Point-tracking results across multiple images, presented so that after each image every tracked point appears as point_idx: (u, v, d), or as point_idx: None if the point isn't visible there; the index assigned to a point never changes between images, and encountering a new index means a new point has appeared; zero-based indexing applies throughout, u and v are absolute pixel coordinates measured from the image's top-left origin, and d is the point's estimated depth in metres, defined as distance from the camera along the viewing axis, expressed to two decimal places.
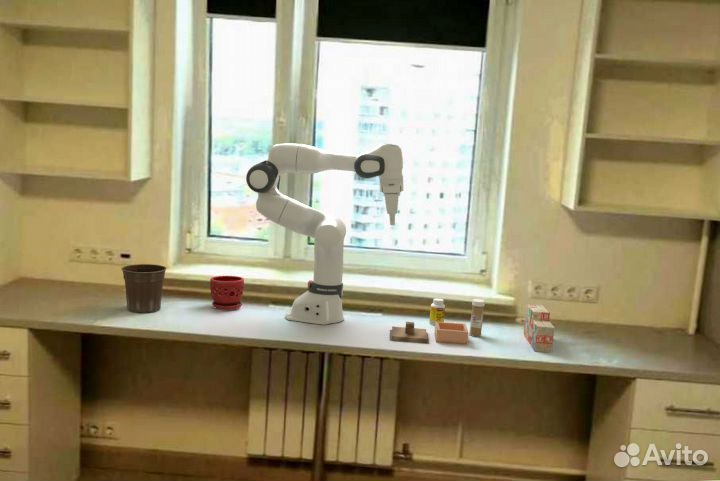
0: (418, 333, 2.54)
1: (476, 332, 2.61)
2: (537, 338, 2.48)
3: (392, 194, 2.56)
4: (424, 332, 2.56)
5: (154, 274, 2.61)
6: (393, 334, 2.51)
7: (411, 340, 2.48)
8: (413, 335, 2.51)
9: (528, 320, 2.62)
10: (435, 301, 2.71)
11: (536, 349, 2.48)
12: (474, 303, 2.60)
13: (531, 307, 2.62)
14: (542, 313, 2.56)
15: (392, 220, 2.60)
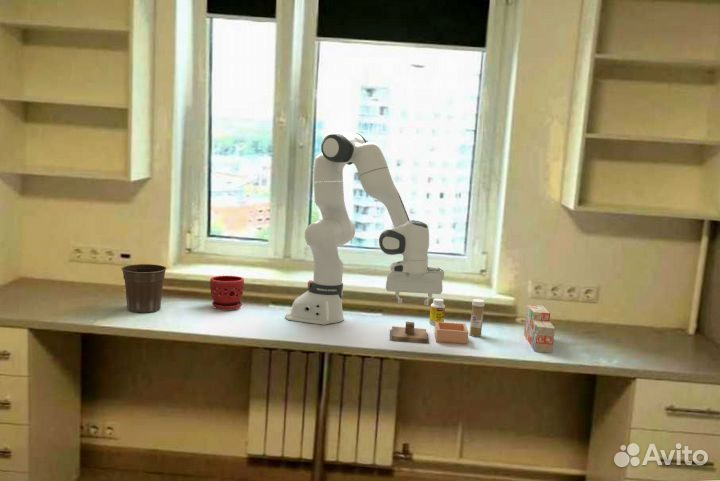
0: (418, 333, 2.54)
1: (476, 332, 2.61)
2: (537, 338, 2.47)
3: (391, 271, 2.51)
4: (424, 332, 2.56)
5: (154, 274, 2.61)
6: (393, 334, 2.51)
7: (411, 340, 2.48)
8: (413, 335, 2.51)
9: (528, 320, 2.61)
10: (435, 301, 2.71)
11: (536, 349, 2.48)
12: (474, 303, 2.60)
13: (531, 307, 2.61)
14: (542, 313, 2.55)
15: (397, 298, 2.53)
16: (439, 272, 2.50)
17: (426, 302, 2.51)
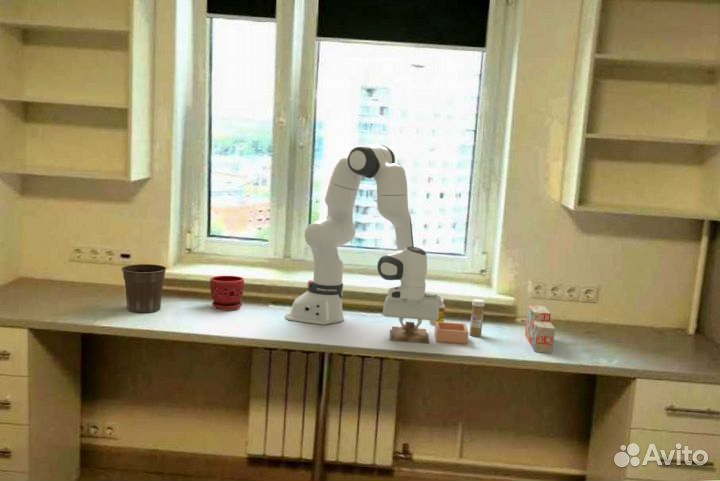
0: (418, 333, 2.54)
1: (476, 332, 2.61)
2: (537, 339, 2.47)
3: (388, 296, 2.53)
4: (424, 332, 2.56)
5: (154, 274, 2.61)
6: (393, 334, 2.51)
7: (411, 340, 2.48)
8: (413, 335, 2.51)
9: (529, 321, 2.61)
10: None
11: (536, 350, 2.47)
12: (474, 303, 2.60)
13: (532, 308, 2.61)
14: (543, 314, 2.55)
15: (401, 324, 2.54)
16: (436, 299, 2.52)
17: (416, 327, 2.53)
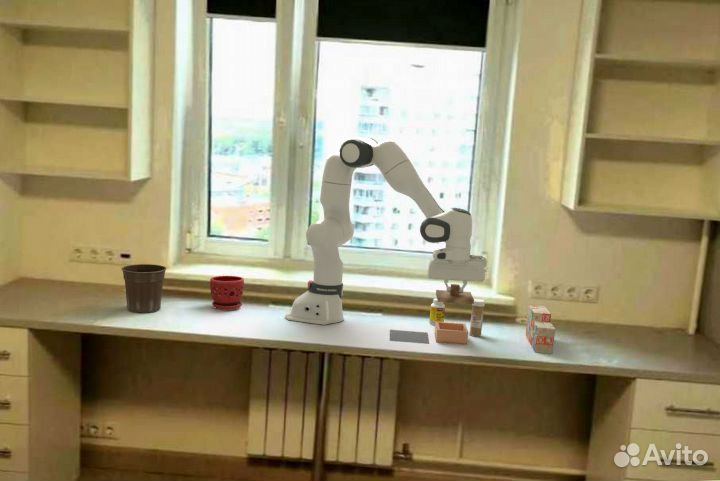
0: (463, 295, 2.52)
1: (476, 332, 2.61)
2: (537, 339, 2.46)
3: (433, 258, 2.51)
4: (469, 294, 2.54)
5: (154, 274, 2.61)
6: (439, 296, 2.48)
7: (457, 301, 2.46)
8: (459, 297, 2.49)
9: (530, 321, 2.60)
10: (435, 301, 2.71)
11: (536, 350, 2.47)
12: (474, 303, 2.60)
13: (533, 308, 2.60)
14: (543, 314, 2.54)
15: (446, 286, 2.52)
16: (481, 260, 2.50)
17: (461, 289, 2.51)
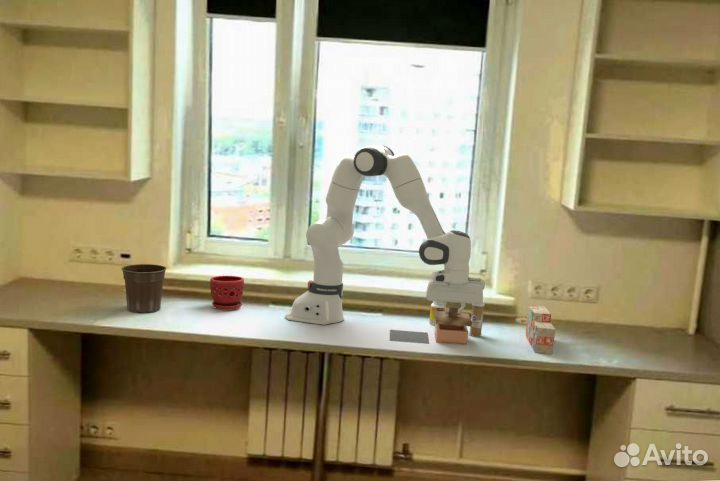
0: (461, 317, 2.53)
1: (476, 332, 2.61)
2: (537, 339, 2.46)
3: (431, 280, 2.52)
4: (467, 316, 2.55)
5: (154, 274, 2.61)
6: (437, 318, 2.50)
7: (455, 324, 2.48)
8: (457, 319, 2.50)
9: (530, 321, 2.60)
10: (435, 301, 2.71)
11: (536, 351, 2.47)
12: None
13: (533, 308, 2.60)
14: (543, 314, 2.54)
15: None
16: (480, 282, 2.51)
17: (459, 311, 2.52)
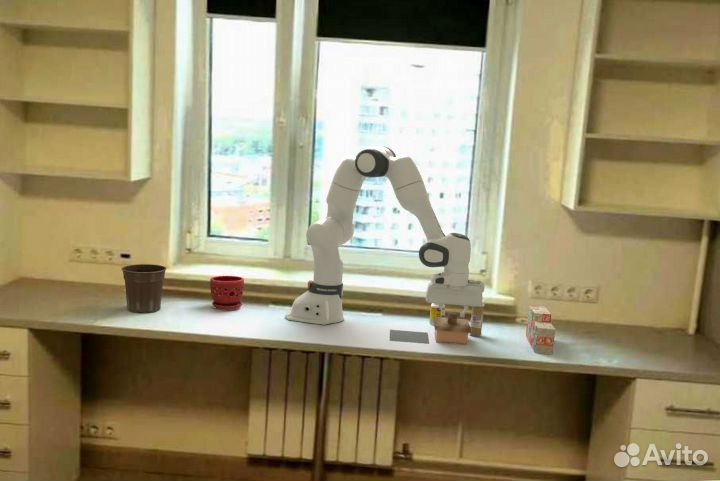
0: (461, 323, 2.54)
1: (476, 332, 2.61)
2: (537, 340, 2.46)
3: (431, 283, 2.52)
4: (466, 322, 2.55)
5: (154, 274, 2.61)
6: (436, 324, 2.50)
7: (454, 330, 2.48)
8: (456, 325, 2.51)
9: (530, 321, 2.60)
10: None
11: (536, 351, 2.46)
12: None
13: (533, 308, 2.60)
14: (543, 315, 2.53)
15: None
16: (479, 285, 2.51)
17: (462, 314, 2.53)
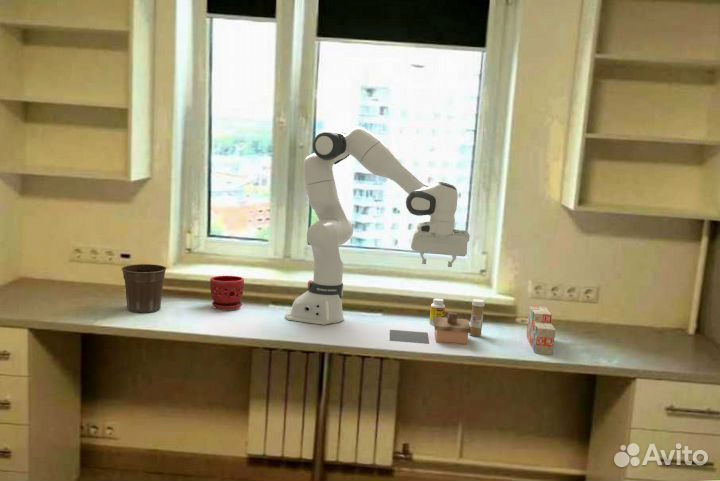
0: (461, 323, 2.54)
1: (476, 332, 2.61)
2: (537, 340, 2.45)
3: (417, 231, 2.55)
4: (466, 322, 2.55)
5: (154, 274, 2.61)
6: (436, 324, 2.50)
7: (454, 330, 2.48)
8: (456, 325, 2.51)
9: (530, 322, 2.59)
10: (435, 301, 2.71)
11: (536, 351, 2.46)
12: (474, 303, 2.60)
13: (533, 309, 2.59)
14: (544, 315, 2.53)
15: (422, 258, 2.57)
16: (465, 235, 2.54)
17: (450, 263, 2.56)
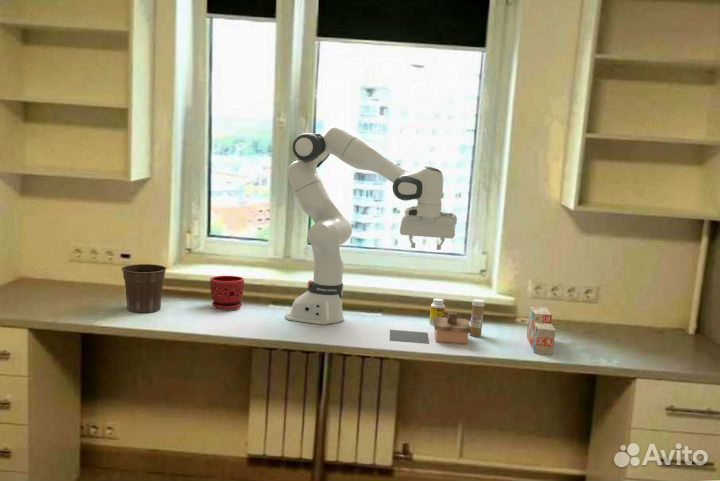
0: (461, 323, 2.54)
1: (476, 332, 2.61)
2: (537, 340, 2.45)
3: (405, 215, 2.59)
4: (466, 322, 2.55)
5: (154, 274, 2.61)
6: (436, 324, 2.50)
7: (454, 330, 2.48)
8: (456, 325, 2.51)
9: (530, 322, 2.59)
10: (435, 301, 2.71)
11: (536, 351, 2.45)
12: (474, 303, 2.60)
13: (534, 309, 2.59)
14: (544, 315, 2.53)
15: (411, 242, 2.61)
16: (452, 217, 2.58)
17: (439, 246, 2.59)
